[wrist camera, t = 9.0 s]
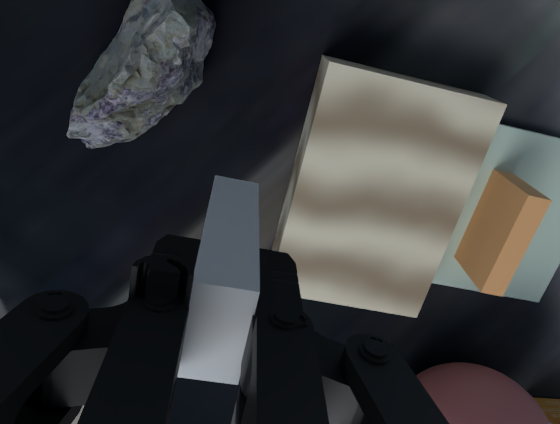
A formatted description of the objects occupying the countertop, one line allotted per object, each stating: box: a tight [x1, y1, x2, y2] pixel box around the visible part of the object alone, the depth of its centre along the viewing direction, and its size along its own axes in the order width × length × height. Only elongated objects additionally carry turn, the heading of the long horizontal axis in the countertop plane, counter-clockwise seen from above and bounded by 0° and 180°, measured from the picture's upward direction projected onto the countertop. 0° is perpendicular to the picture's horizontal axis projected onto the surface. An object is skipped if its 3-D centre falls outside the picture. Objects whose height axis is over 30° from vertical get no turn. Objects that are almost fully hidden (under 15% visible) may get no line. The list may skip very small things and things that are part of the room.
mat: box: [432, 124, 560, 303], centre depth 45 cm, size 16×13×1 cm
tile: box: [454, 169, 552, 297], centre depth 41 cm, size 9×6×2 cm
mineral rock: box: [67, 0, 216, 149], centre depth 33 cm, size 13×11×10 cm
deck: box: [272, 55, 507, 318], centre depth 41 cm, size 20×14×4 cm
